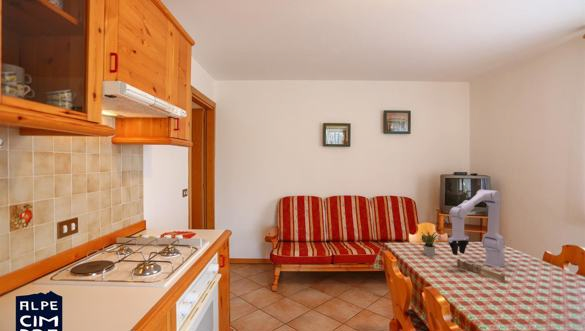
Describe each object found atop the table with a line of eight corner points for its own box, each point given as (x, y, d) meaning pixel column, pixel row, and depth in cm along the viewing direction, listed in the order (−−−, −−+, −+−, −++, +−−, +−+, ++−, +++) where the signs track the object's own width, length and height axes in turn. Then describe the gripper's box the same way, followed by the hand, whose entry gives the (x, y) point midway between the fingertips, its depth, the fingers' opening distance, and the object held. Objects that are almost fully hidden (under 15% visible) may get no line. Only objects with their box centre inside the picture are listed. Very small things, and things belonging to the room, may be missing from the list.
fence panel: (478, 272, 147) (478, 265, 147) (476, 273, 146) (476, 265, 146) (458, 265, 157) (458, 258, 157) (456, 266, 156) (456, 259, 156)
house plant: (444, 254, 179) (444, 229, 179) (443, 260, 168) (443, 233, 168) (420, 250, 187) (420, 226, 187) (418, 256, 175) (417, 231, 175)
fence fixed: (479, 273, 146) (478, 265, 146) (505, 282, 134) (505, 274, 134) (477, 273, 146) (476, 266, 146) (503, 283, 134) (503, 274, 134)
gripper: (456, 232, 144) (456, 257, 144) (474, 229, 150) (474, 254, 150) (444, 229, 151) (444, 254, 151) (461, 226, 157) (462, 250, 156)
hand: (458, 253), depth 151 cm, fingers open, 5 cm apart
